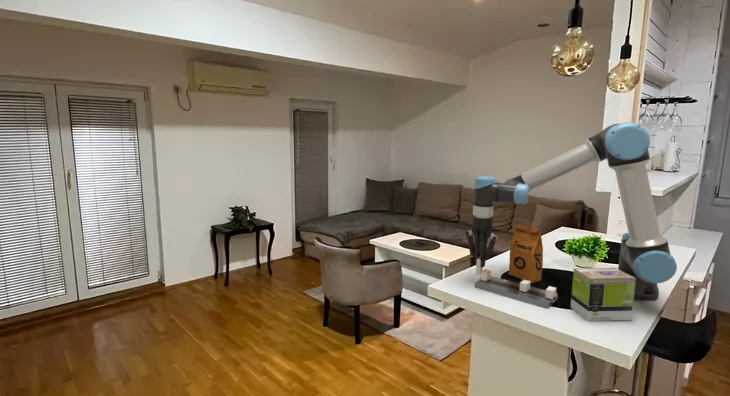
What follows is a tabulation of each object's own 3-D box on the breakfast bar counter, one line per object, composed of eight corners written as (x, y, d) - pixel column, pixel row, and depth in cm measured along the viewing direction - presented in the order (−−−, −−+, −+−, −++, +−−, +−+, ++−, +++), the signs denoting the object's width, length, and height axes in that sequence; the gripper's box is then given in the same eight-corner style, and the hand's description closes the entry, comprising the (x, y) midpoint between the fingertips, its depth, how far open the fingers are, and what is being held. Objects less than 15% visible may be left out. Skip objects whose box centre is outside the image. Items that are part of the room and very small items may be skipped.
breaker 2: (529, 288, 144) (530, 281, 143) (526, 292, 141) (526, 284, 140) (523, 287, 145) (523, 279, 145) (519, 290, 142) (520, 282, 142)
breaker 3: (555, 295, 138) (556, 287, 137) (552, 299, 135) (553, 291, 134) (548, 294, 139) (549, 286, 139) (545, 297, 136) (545, 289, 136)
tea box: (611, 307, 134) (616, 266, 132) (632, 321, 125) (638, 278, 122) (568, 307, 134) (573, 266, 131) (586, 321, 124) (591, 278, 121)
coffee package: (530, 285, 153) (535, 231, 149) (504, 275, 163) (508, 224, 159) (545, 280, 158) (550, 228, 154) (519, 271, 168) (523, 222, 165)
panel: (560, 299, 140) (560, 294, 140) (551, 309, 132) (551, 303, 132) (486, 279, 158) (486, 274, 158) (474, 287, 150) (474, 282, 150)
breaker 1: (490, 278, 153) (491, 270, 153) (486, 281, 150) (486, 273, 150) (484, 276, 155) (485, 269, 154) (480, 279, 152) (480, 271, 151)
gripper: (502, 217, 149) (498, 275, 153) (471, 212, 157) (468, 267, 161) (494, 220, 143) (490, 280, 147) (462, 215, 152) (459, 272, 156)
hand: (479, 273), depth 154 cm, fingers closed
